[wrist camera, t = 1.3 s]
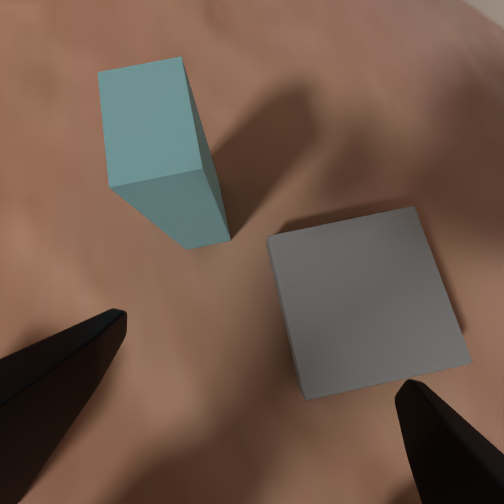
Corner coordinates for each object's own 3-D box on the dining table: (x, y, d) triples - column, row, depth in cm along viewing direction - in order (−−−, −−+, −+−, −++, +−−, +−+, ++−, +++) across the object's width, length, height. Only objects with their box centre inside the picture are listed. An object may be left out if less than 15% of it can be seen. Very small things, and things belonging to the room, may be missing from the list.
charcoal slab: (298, 387, 20) (305, 400, 17) (266, 245, 23) (267, 236, 20) (442, 355, 21) (472, 363, 18) (394, 218, 23) (414, 205, 20)
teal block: (186, 249, 22) (109, 187, 11) (176, 188, 24) (97, 72, 12) (230, 240, 22) (202, 168, 11) (218, 180, 24) (181, 56, 12)
